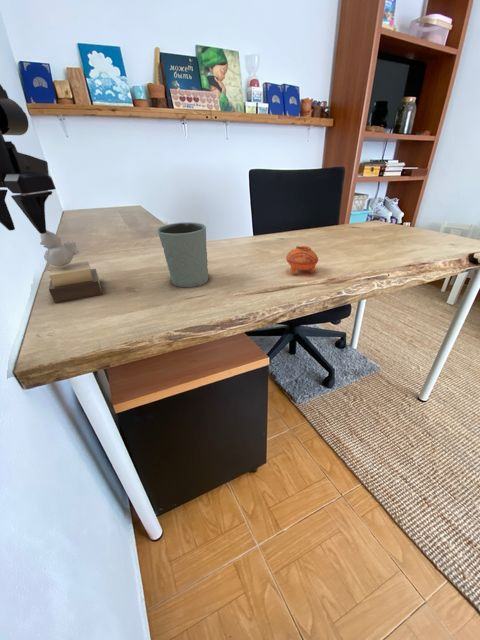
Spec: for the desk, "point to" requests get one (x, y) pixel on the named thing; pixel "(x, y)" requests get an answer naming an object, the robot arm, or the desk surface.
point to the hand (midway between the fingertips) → (27, 231)
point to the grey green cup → (185, 253)
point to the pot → (302, 259)
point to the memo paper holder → (73, 281)
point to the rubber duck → (57, 249)
